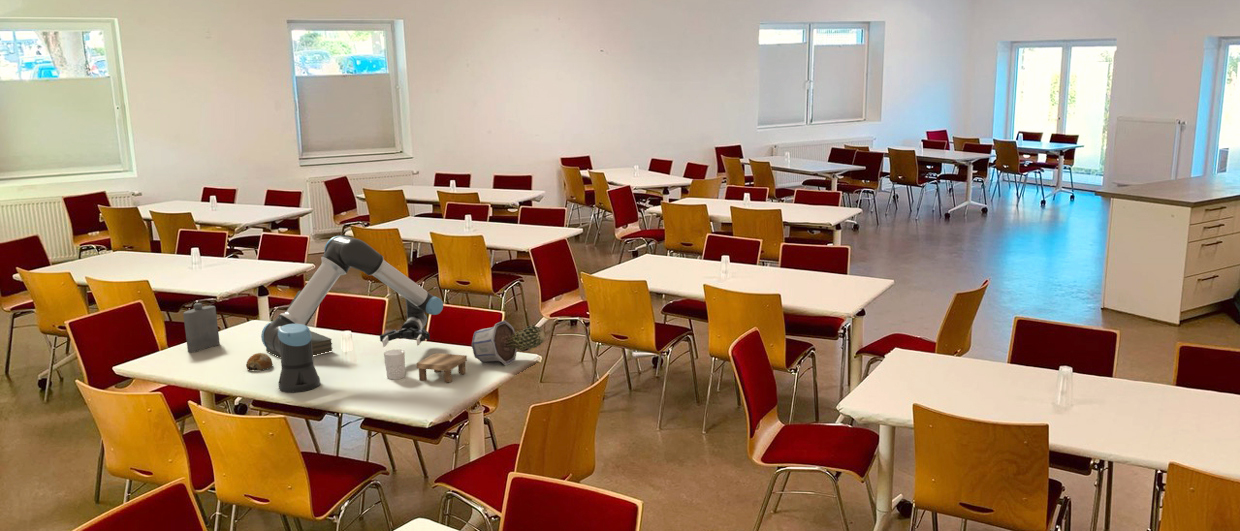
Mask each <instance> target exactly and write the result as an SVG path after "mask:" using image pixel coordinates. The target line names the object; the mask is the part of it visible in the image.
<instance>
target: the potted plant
mask: <svg viewBox="0 0 1240 531" xmlns="http://www.w3.org/2000/svg"><path fill="white" fill-rule="evenodd" d="M545 338H546V334H545V332H544V329H542V328H541V327H539V326H537V325H534V324H532V325H531V324H530V325H528V326H526V327H524V328H523V329H521V330H517V331H515V328H514V327H513V326H512V325H511V324H510V322H507V320H505V319H504V320H502V321H499V322H497V323H495V324H494V325H493V326H492V327H487V328H481V329H479V330H475V331H474V333H473V336H472V341H471V349H472V352H473V356H474V358H475V359H477V360H478V361H479V362H481V363H485V362H501V363H502V364H503V365H505V366H507V365H510V364H511V363H513V362H514V361H515V360H516V357H517V353H518V351H525V350H527V349H533V348H534V349H535V348H537V347H538V346H541V345H542V344H543V343H544V342H545Z"/></svg>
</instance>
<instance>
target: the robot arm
mask: <svg viewBox="0 0 1240 531" xmlns="http://www.w3.org/2000/svg"><path fill="white" fill-rule="evenodd" d="M323 251H324V253H323V255H322V256H321V257H320V259H321V264H320V266H319V267H318V268H317V270H316V271H315V272H314V273H313V275H312V276H311V278H310V279H309V280H308V282H307V283H306V285H305V286H304V287H303V289H302V290H300V291H301V293H300V294H299V295H298V297H297V298H296V299H295V301H294V302H293V303H292V305H291V306H290V307H289V306H288V307H289V309H288V308H287V309H288V310H287V309H286V310H287V312H286V311H285V312H282V313H279V314H278V315H277V317H276V318H275V320H272V321H270V322H268V323H267V324H265V325H264V327H263V328H262V331H261V336H260V337H261V342H262V344H263V346H264V347H265V349H266V348H268V349H269V350H270V351H272V352H275V353H277V354H279V355H280V357H281V358H280V364H281V365H280V366H281V370H280V374H279V380H278V390H279V389H280V390H279V391H281V392H283V391H285V393H300V392H306V391H310V390H314V389H316V388H318V387H320V385H321V378H320V376H319V375H318V372H317V370H316V367H315V365H314V357H313V352H312V340H311V338H312V337H311V333H310V331H311V329H310V328H309V326H308V325H307V326H306V325H305V323H306V322H307V320H308V319H309V318H310V316H311V315H312V314H313V312H314V311H315V309H316V308H317V307H318V308H319V306H320V305H321V303H322V302H323V300H324V299H325V297H326V296H327V294H329V291H331V289H332V288H333V286H334V285H335V283H336V282H337V280H338V279H339V278H340V277H341V276H344V275H347V274H348V272H349V271H350V269H351V268H353V269H356V270H358V271H360V272H362V273H364V274H366V276H373V277H374V278H376V280H377V279H378V280H379V281H380V282H381V283H383V284H385V285H386V286H387V287H389V288H390V289H391V290H393V291H394V292H396V293H397V294H399V295H400V296H402V297H403V298H404V299H405V307H406V321H404V322H403V325H402V326H401V327H400V328H401V329H398V330H396V329H392V330H390V331H387V332H385V333H382V334H380V335H379V341H380V342H381V343H382V348H384V347H386V346H387V345H388V344H389V342H390V341H393V340H397V339H398V340H401V339H407V340H414V339H416V346H420V344H421V343H422V342H424V341H426V340H427V341H429V340H431V337H430V336H431V335H430V333H429V332H428V331H427V330H426V328H425V326H426V324H427V321H428V317H427V315H426V314H429V316H431V315H433V316H435V315H439V314H441V312H442V311H443V308H444V302H443V300H442V299H441V298H439V297H438V296H434V295H433V294H431V293H430V292H429V291H427V290H426V289H424V288H423V287H422V286H420V285H419V284H418V283H416V282H415V281H414V280H412V279H411V278H410V277H408V276H406V275H405V274H404V273H402V272H401V270H400V271H399V270H398V269H397V268H396V267H394V266H393V265H391V264H390V263H388V262H387V261H386V260H385V259H384V258H385V257H384V256H383V255H382V254H380V253H379V252H378V251H377V250H376V249H374V247H372V246H371V245H370V244H368V243H367V242H365V241H363V240H362V239H359V238H356V237H355V238H354V237H350V236H347V235H336V236H335V235H334V236H333V237H331V238H330V239H329V240H328V241H327V242H326V244H325V246H324V250H323ZM321 301H322V302H321ZM319 304H320V305H319ZM318 305H319V306H318ZM318 308H317V309H318ZM315 312H316V311H315ZM425 313H426V314H425ZM313 315H314V314H313Z"/></svg>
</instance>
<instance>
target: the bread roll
mask: <svg viewBox="0 0 1240 531" xmlns="http://www.w3.org/2000/svg"><path fill="white" fill-rule="evenodd" d="M245 365H246V366H245V367H246V369H247V370H248V369H249V370H248V371H250V370H261V371H264V370H263V369H266V370H268V369H267V368H269V369H271V368H272V367H273V366H272V365H274V364H273V360H272V358H271V357H270V356H269V355H268V353H267V354H266V353H264V352H258V353H254V354H252V355H251V356H250V357H249V358H248V359H247V361H246V364H245ZM270 367H271V368H270Z"/></svg>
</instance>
